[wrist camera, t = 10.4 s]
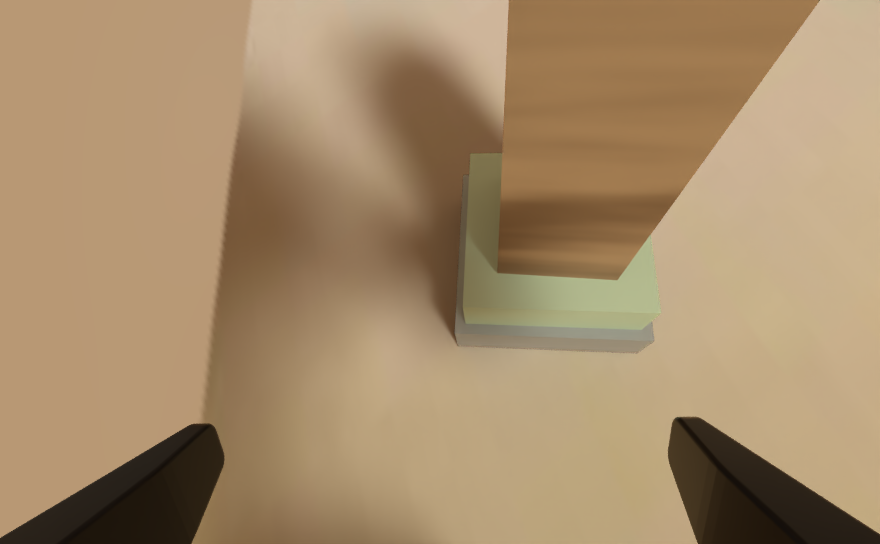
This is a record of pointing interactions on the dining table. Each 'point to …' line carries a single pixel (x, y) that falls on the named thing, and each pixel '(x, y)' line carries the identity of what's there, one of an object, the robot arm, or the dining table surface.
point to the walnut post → (619, 118)
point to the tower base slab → (538, 334)
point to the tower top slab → (544, 296)
